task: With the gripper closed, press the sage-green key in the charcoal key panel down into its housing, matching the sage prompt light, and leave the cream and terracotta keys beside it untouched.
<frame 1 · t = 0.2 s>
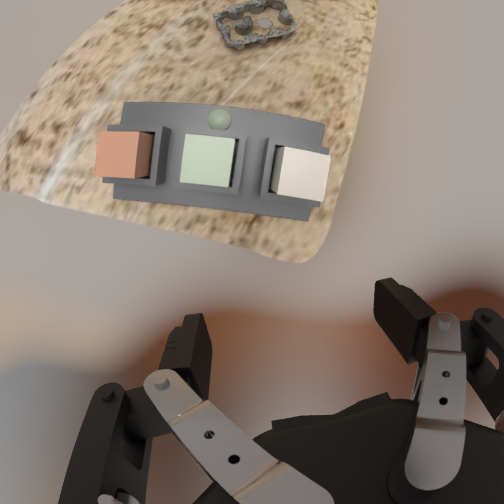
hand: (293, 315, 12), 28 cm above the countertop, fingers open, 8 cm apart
grey ruined fortress: (254, 28, 30), on the countertop
cream key: (298, 173, 30), point 7 cm above the countertop, slide at 0.0 cm
sage key: (209, 160, 29), point 8 cm above the countertop, slide at 0.0 cm
terracotta key: (125, 154, 28), point 7 cm above the countertop, slide at 0.0 cm
key panel: (215, 156, 36), on the countertop
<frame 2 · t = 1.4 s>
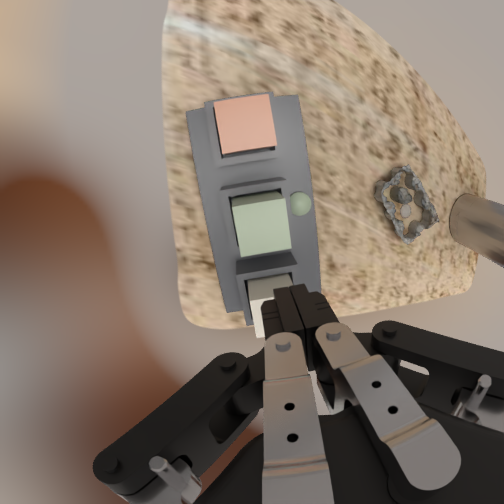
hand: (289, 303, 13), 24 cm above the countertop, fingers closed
grey ruined fortress: (398, 202, 37), on the countertop
cream key: (272, 302, 32), point 8 cm above the countertop, slide at 0.0 cm
sage key: (260, 220, 29), point 8 cm above the countertop, slide at 0.0 cm
terracotta key: (244, 126, 26), point 8 cm above the countertop, slide at 0.0 cm
key panel: (259, 207, 36), on the countertop
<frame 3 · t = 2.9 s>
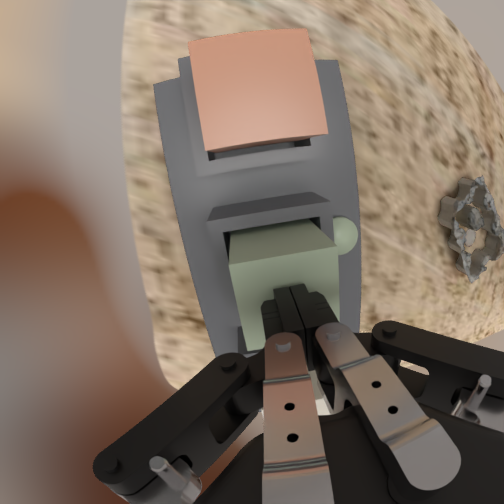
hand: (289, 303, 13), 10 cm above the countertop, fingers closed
grey ruined fortress: (462, 225, 24), on the countertop
cream key: (295, 393, 19), point 8 cm above the countertop, slide at 0.0 cm
sage key: (281, 277, 16), point 7 cm above the countertop, slide at 0.3 cm, touching gripper
terracotta key: (253, 97, 12), point 8 cm above the countertop, slide at 0.0 cm
key panel: (274, 239, 23), on the countertop
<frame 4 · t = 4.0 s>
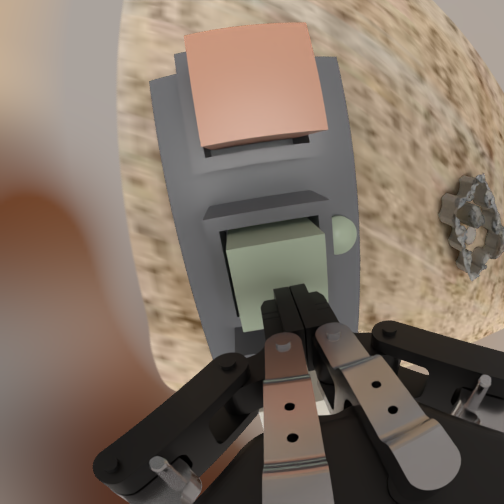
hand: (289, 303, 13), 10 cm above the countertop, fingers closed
grey ruined fortress: (463, 223, 23), on the countertop
cream key: (293, 395, 19), point 8 cm above the countertop, slide at 0.0 cm
sage key: (274, 264, 17), point 5 cm above the countertop, slide at 2.2 cm
terracotta key: (251, 92, 12), point 7 cm above the countertop, slide at 0.0 cm
key panel: (271, 238, 22), on the countertop
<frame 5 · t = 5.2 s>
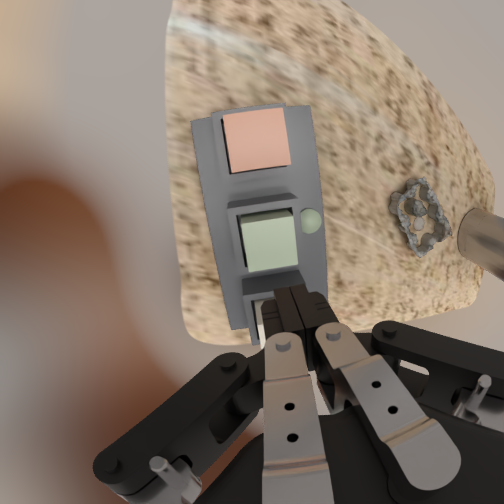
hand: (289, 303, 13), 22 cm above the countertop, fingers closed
grey ruined fortress: (412, 214, 36), on the countertop
cream key: (280, 324, 31), point 8 cm above the countertop, slide at 0.0 cm
sage key: (267, 236, 30), point 5 cm above the countertop, slide at 2.2 cm
terracotta key: (255, 141, 24), point 8 cm above the countertop, slide at 0.0 cm
key panel: (266, 223, 35), on the countertop
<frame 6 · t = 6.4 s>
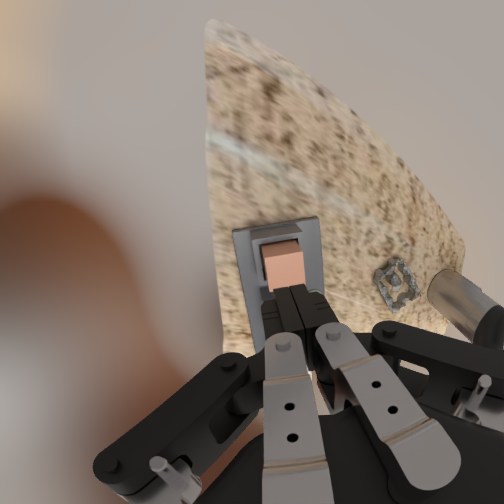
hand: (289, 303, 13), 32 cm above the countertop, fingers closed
grey ruined fortress: (391, 281, 50), on the countertop
cream key: (294, 365, 46), point 8 cm above the countertop, slide at 0.0 cm
terracotta key: (282, 263, 39), point 8 cm above the countertop, slide at 0.0 cm
key panel: (285, 298, 49), on the countertop
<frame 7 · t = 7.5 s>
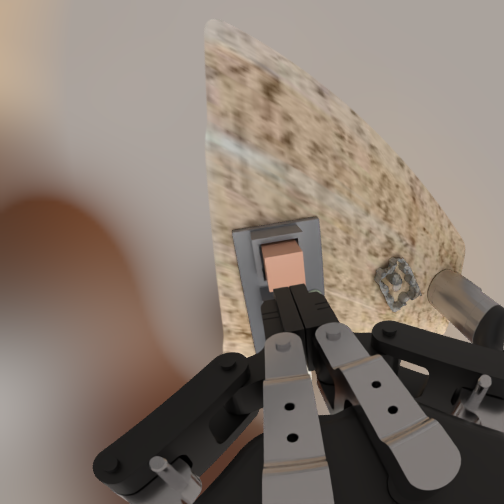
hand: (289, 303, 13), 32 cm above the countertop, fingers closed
grey ruined fortress: (392, 280, 50), on the countertop
cream key: (294, 365, 46), point 8 cm above the countertop, slide at 0.0 cm
terracotta key: (282, 263, 39), point 8 cm above the countertop, slide at 0.0 cm
key panel: (284, 298, 49), on the countertop
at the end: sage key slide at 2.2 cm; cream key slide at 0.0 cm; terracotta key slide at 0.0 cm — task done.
